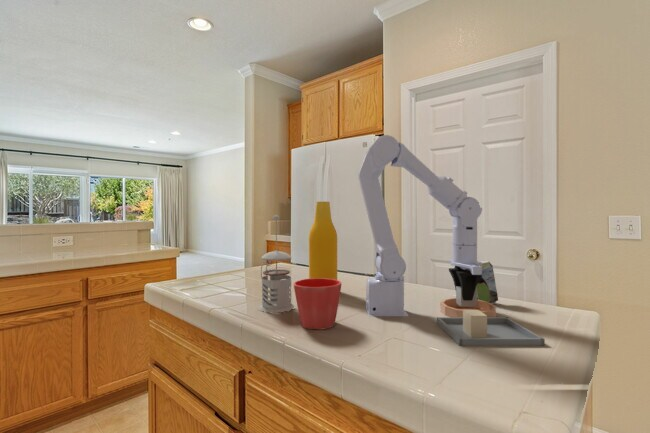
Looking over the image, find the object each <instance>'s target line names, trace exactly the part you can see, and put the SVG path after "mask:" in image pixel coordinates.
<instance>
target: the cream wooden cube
mask: <svg viewBox="0 0 650 433" xmlns="http://www.w3.org/2000/svg"><path fill="white" fill-rule="evenodd" d="M463 331H464V332H465V333H466V334H467V335H469V336H470V337H471V338H487V315H485V314H484V313H482V312H481V311H479V310H463Z"/></svg>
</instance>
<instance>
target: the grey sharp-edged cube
mask: <svg viewBox="0 0 650 433" xmlns="http://www.w3.org/2000/svg"><path fill="white" fill-rule="evenodd" d="M455 298H456V303H457V304H458V305H459V306H461V307H477V289H475V293H474V296H473V300H463V297H462V291H461V286H456V289H455Z"/></svg>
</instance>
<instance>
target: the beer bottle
mask: <svg viewBox="0 0 650 433" xmlns="http://www.w3.org/2000/svg"><path fill="white" fill-rule="evenodd" d="M330 205H331V204H330V201H316V204H315V212H314V220H313V223H312V226H311V228H310V231H309V233H308V279H312V278H325V279H334V280H338V233H337V230H336V228H335V225H334V223H333V220H332V214H331V206H330Z"/></svg>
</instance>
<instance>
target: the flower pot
mask: <svg viewBox="0 0 650 433" xmlns="http://www.w3.org/2000/svg"><path fill="white" fill-rule="evenodd" d="M293 288H294V294H295V301H296V305H297V310H298V314H299V320H300V324H301V327H303V328H305V329H309V330H325V329H330V328H331V327H332V328H333V327H334V326H335V323H336V318H337V314H338V309H339V303H340V297H341V291H342V290H341V289H342V282H341V281H340V280H338V279H337V280H334V279H325V278H312V279H309V278H305V279H299V280H297V281H295V282H294V283H293Z"/></svg>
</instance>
